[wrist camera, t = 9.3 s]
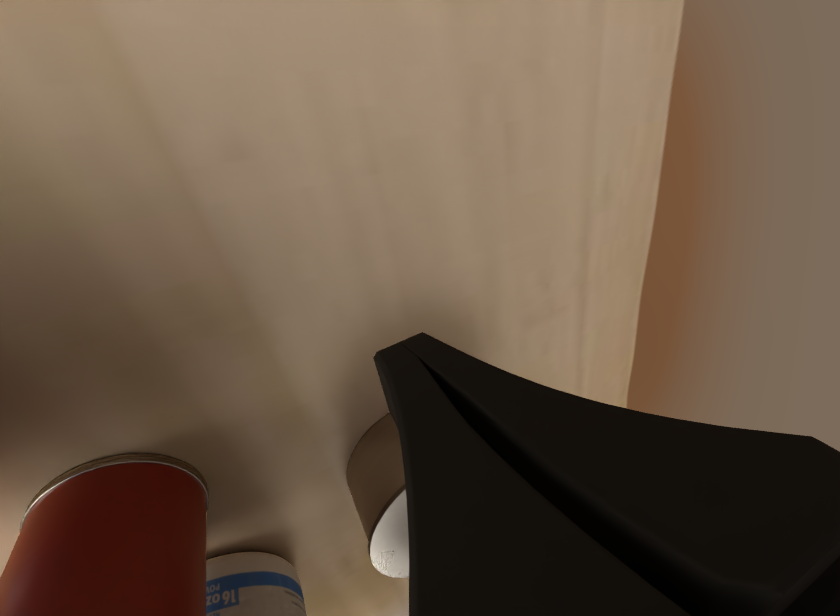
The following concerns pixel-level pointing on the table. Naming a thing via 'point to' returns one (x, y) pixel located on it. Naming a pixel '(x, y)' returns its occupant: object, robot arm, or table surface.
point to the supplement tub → (252, 586)
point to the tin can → (112, 542)
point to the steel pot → (382, 497)
